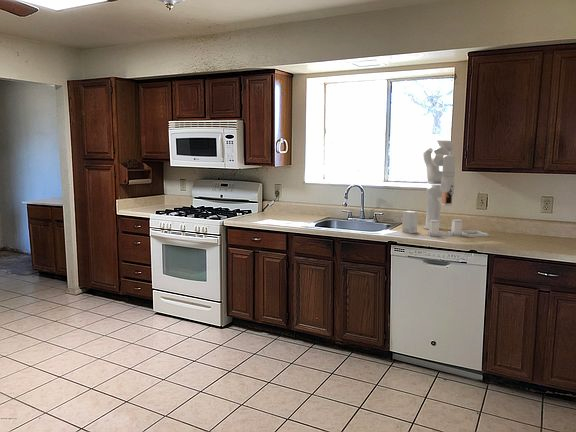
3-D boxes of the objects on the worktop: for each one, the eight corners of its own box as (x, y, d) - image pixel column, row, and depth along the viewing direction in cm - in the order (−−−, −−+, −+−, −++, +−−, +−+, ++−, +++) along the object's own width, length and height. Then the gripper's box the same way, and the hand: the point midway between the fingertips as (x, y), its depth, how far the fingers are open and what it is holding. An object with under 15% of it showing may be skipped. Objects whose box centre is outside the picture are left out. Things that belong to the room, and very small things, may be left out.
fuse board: (424, 236, 308) (424, 230, 307) (457, 235, 312) (458, 229, 311) (431, 239, 298) (431, 233, 297) (465, 238, 302) (466, 232, 301)
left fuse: (428, 235, 305) (429, 220, 303) (435, 234, 306) (436, 219, 304) (431, 236, 301) (432, 221, 299) (438, 236, 302) (439, 220, 300)
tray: (457, 235, 314) (458, 230, 313) (476, 234, 316) (476, 230, 315) (468, 239, 300) (469, 234, 300) (488, 238, 303) (488, 234, 302)
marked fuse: (441, 204, 303) (442, 189, 302) (448, 204, 304) (449, 189, 302) (444, 205, 299) (445, 190, 298) (451, 205, 300) (452, 190, 299)
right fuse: (451, 234, 307) (452, 219, 306) (458, 234, 308) (459, 219, 307) (454, 235, 303) (455, 220, 302) (461, 235, 304) (462, 220, 303)
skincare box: (417, 234, 314) (418, 211, 312) (410, 235, 311) (411, 212, 309) (408, 232, 322) (409, 210, 319) (401, 233, 318) (402, 210, 316)
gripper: (436, 173, 306) (435, 201, 309) (449, 175, 290) (447, 204, 293) (447, 173, 307) (445, 201, 310) (460, 175, 291) (458, 204, 294)
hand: (446, 202), depth 301 cm, fingers closed on marked fuse, 4 cm apart
